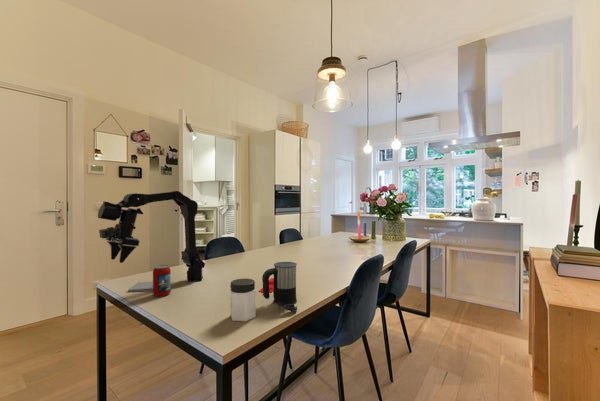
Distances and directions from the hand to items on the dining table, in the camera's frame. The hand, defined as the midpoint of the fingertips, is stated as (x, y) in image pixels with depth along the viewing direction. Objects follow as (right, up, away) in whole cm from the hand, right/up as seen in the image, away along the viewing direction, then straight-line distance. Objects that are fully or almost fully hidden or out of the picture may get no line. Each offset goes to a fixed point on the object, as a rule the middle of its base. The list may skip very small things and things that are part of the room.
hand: (116, 261), depth 114 cm
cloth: (+62, -16, +16) cm, 65 cm away
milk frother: (+69, -15, -7) cm, 71 cm away
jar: (+54, -16, -17) cm, 59 cm away
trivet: (+4, -15, +15) cm, 22 cm away
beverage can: (+16, -16, +5) cm, 23 cm away
